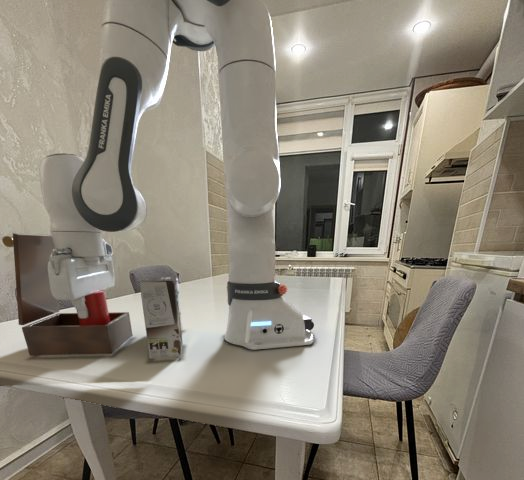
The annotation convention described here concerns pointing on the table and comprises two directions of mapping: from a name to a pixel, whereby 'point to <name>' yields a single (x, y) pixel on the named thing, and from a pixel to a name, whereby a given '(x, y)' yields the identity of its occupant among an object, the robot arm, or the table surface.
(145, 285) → the coffee box
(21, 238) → the chest lid
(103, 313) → the can
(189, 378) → the table surface
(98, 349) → the chest
